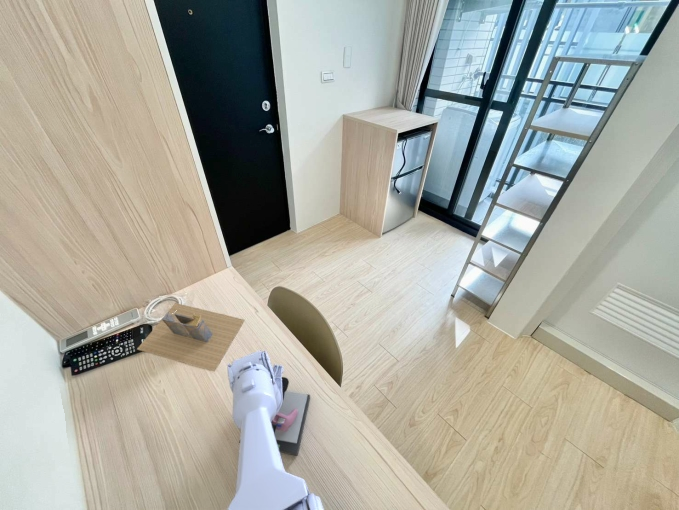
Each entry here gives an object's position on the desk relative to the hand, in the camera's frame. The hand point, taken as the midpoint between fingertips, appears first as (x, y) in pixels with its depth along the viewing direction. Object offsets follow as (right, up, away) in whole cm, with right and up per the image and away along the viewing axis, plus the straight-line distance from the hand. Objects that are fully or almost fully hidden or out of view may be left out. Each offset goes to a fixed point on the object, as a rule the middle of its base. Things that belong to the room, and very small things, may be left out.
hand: (274, 414), depth 60 cm
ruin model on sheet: (-29, +12, +19) cm, 37 cm away
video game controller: (0, -1, +1) cm, 2 cm away
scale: (0, -3, +3) cm, 4 cm away
